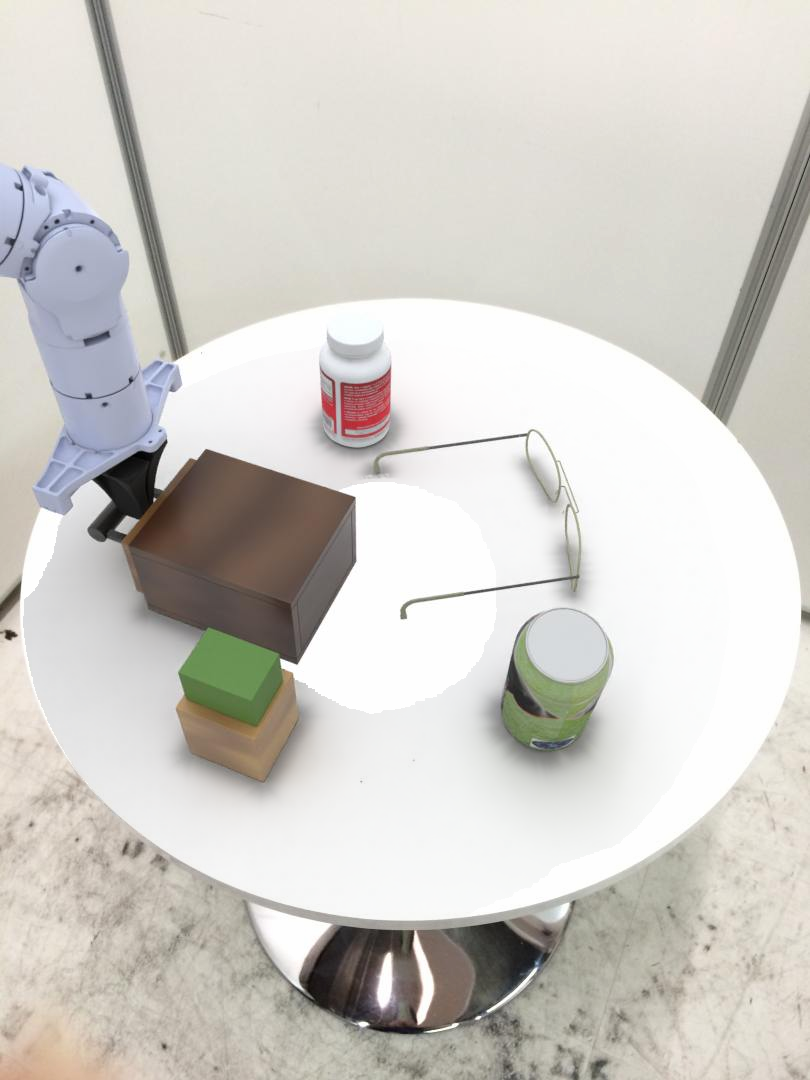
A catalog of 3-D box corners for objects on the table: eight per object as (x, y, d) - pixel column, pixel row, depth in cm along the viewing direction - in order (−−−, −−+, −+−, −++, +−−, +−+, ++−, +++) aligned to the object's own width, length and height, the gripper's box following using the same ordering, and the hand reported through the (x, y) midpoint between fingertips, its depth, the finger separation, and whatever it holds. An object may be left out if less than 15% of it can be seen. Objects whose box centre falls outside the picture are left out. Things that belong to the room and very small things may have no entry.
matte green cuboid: (185, 699, 54) (177, 672, 52) (214, 654, 56) (207, 626, 54) (256, 727, 53) (251, 701, 51) (283, 680, 55) (279, 653, 53)
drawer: (83, 571, 67) (63, 521, 62) (150, 490, 73) (136, 439, 68) (272, 641, 63) (265, 594, 59) (327, 550, 69) (324, 501, 65)
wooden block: (189, 752, 58) (174, 708, 54) (227, 690, 62) (216, 643, 57) (263, 783, 57) (254, 740, 53) (298, 718, 60) (293, 672, 56)
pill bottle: (402, 420, 81) (406, 320, 72) (367, 459, 77) (367, 359, 69) (345, 396, 83) (343, 296, 74) (309, 434, 79) (302, 333, 71)
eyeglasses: (588, 600, 68) (602, 560, 64) (400, 620, 66) (402, 580, 62) (537, 458, 78) (546, 415, 74) (372, 472, 76) (373, 429, 72)
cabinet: (148, 609, 66) (127, 545, 60) (218, 514, 72) (205, 448, 67) (297, 665, 63) (290, 603, 57) (356, 561, 70) (356, 496, 64)
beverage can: (583, 684, 63) (619, 583, 54) (586, 778, 58) (627, 686, 49) (496, 675, 63) (518, 573, 54) (493, 768, 58) (517, 675, 49)
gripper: (79, 460, 51) (127, 597, 61) (206, 325, 60) (229, 465, 70) (-19, 426, 53) (44, 566, 63) (118, 299, 61) (154, 440, 72)
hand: (136, 511), depth 67 cm, fingers closed
